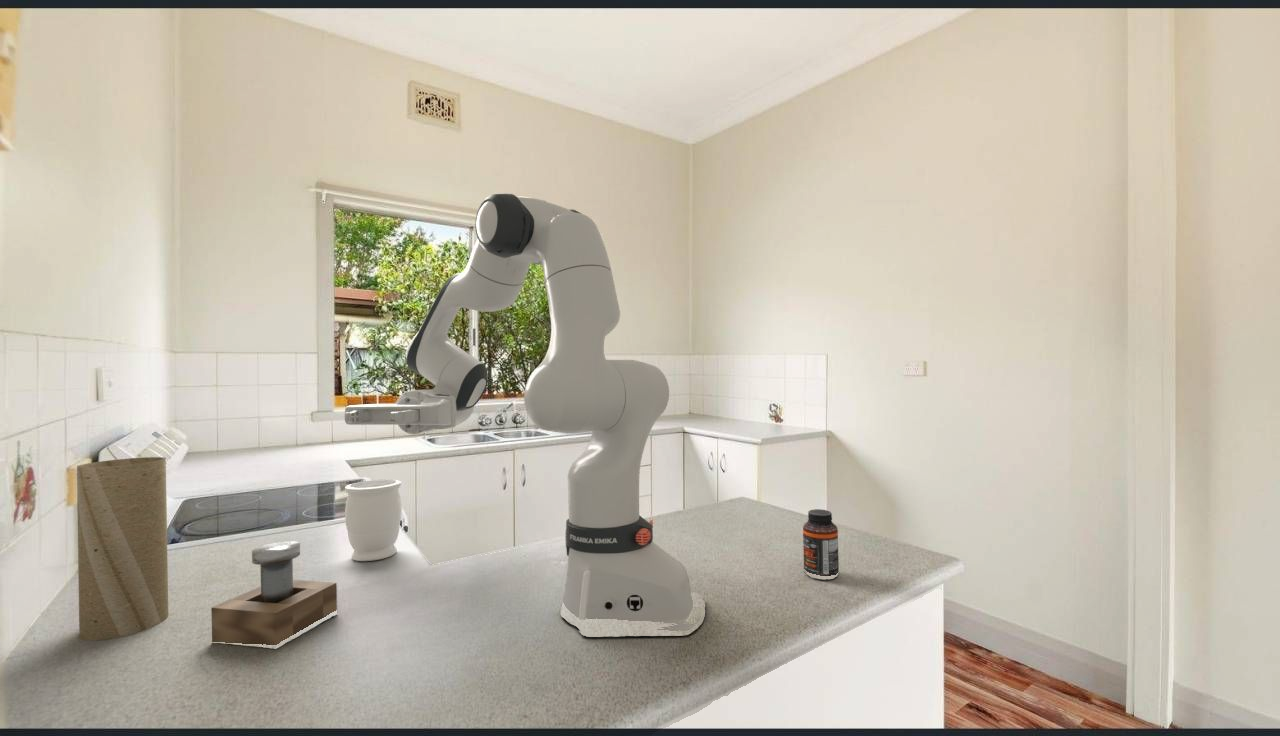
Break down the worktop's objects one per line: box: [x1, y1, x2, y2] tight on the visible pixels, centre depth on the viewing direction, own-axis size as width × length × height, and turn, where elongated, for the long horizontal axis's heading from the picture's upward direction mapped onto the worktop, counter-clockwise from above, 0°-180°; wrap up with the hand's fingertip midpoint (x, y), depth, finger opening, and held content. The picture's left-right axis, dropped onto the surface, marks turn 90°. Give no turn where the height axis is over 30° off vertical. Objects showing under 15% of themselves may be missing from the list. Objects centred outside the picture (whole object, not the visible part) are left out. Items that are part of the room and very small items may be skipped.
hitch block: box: [210, 579, 338, 645], centre depth 82 cm, size 11×11×5 cm
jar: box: [344, 479, 402, 562], centre depth 115 cm, size 11×10×15 cm
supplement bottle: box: [802, 508, 840, 576], centre depth 98 cm, size 6×6×11 cm
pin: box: [251, 541, 301, 603], centre depth 82 cm, size 6×6×12 cm
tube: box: [76, 456, 169, 642], centre depth 84 cm, size 10×10×25 cm
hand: (370, 417), depth 98 cm, fingers open, 8 cm apart
